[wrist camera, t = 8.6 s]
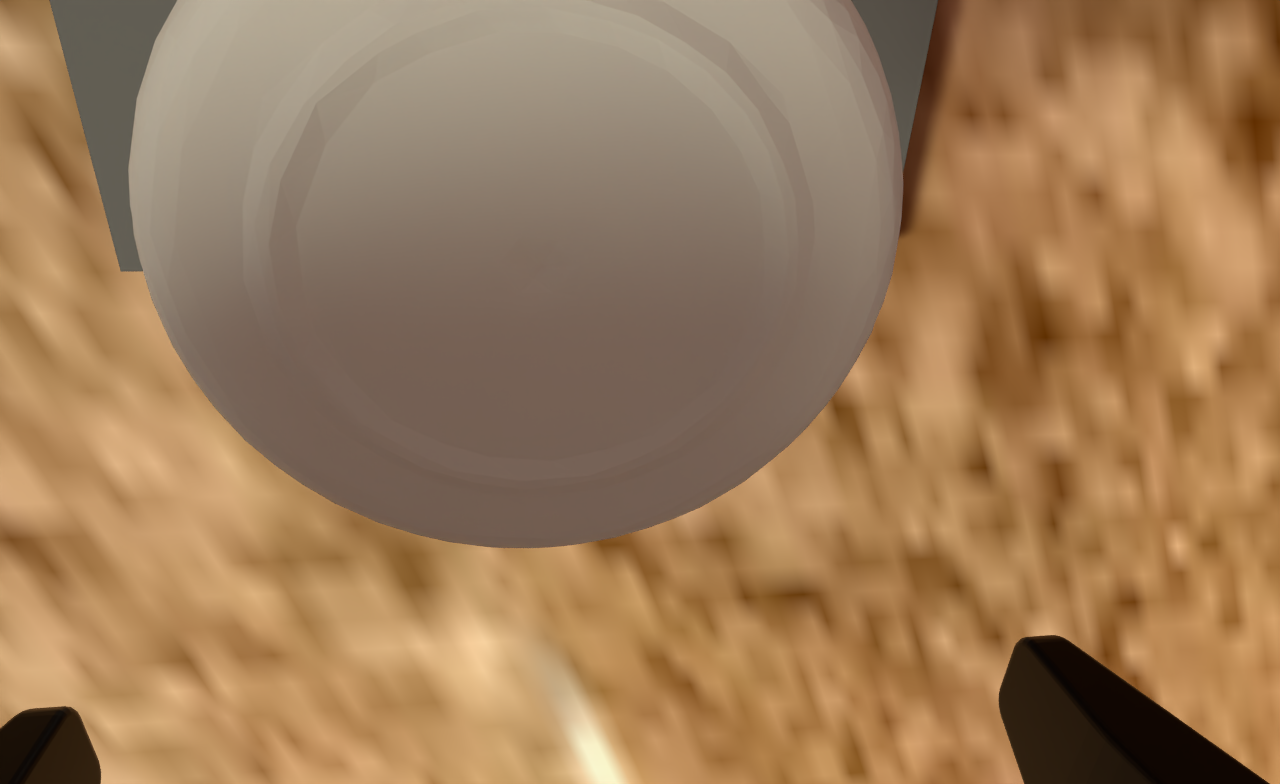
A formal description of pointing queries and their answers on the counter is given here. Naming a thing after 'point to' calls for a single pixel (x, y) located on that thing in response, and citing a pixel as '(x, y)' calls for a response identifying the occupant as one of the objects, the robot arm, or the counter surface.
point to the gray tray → (140, 3)
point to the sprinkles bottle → (517, 245)
